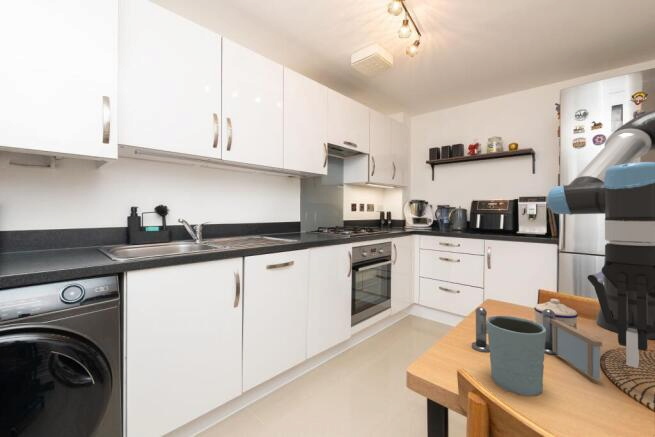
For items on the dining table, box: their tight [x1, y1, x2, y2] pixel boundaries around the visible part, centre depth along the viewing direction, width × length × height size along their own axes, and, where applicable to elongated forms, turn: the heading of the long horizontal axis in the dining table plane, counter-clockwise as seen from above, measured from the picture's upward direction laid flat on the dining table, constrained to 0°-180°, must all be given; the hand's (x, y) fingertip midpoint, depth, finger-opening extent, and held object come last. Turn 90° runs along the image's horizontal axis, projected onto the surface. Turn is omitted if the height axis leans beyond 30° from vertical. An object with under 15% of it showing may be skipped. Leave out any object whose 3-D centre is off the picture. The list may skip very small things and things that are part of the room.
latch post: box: [471, 306, 490, 353], centre depth 72 cm, size 5×4×10 cm
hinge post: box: [542, 309, 559, 356], centre depth 70 cm, size 4×4×10 cm
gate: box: [551, 319, 603, 380], centre depth 62 cm, size 12×1×8 cm, turn 174°
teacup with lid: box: [533, 298, 579, 330], centre depth 75 cm, size 12×9×12 cm
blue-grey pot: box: [486, 315, 546, 397], centre depth 57 cm, size 10×10×12 cm
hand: (632, 364), depth 54 cm, fingers closed
